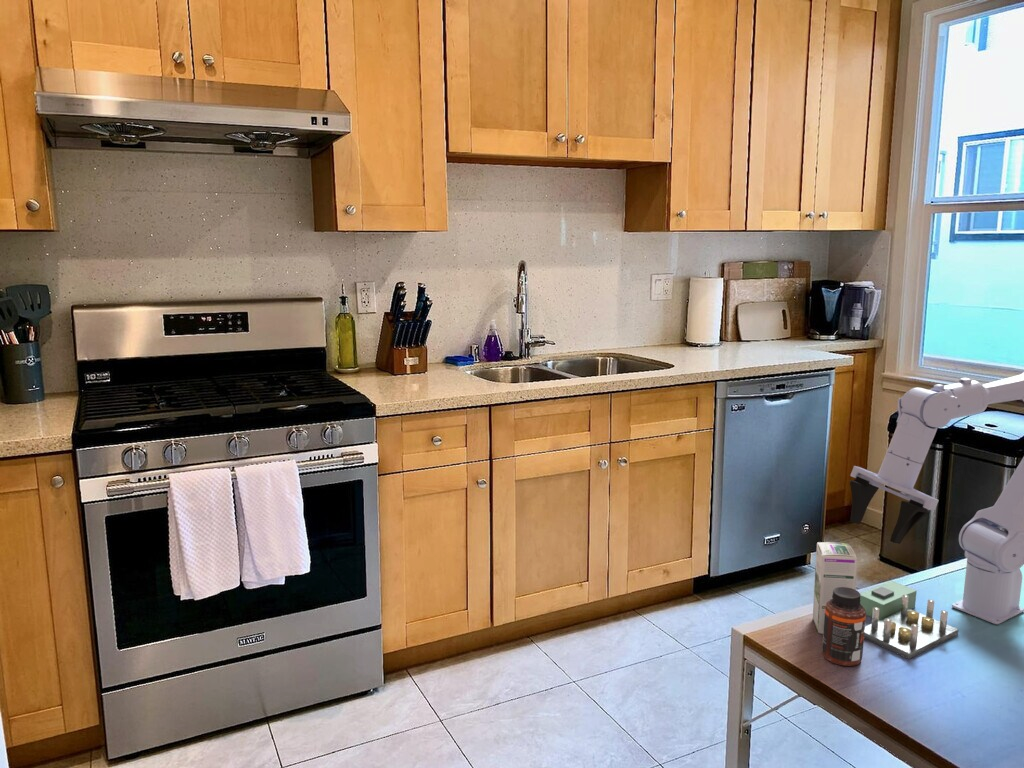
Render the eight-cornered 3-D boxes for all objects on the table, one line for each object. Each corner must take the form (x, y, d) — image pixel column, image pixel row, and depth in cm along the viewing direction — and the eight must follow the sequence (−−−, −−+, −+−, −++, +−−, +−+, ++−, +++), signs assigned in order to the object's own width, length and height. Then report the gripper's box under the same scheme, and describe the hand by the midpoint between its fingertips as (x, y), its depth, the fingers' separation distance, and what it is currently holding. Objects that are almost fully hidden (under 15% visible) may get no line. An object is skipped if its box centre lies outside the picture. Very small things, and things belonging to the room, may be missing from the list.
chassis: (906, 613, 138) (909, 589, 137) (957, 634, 130) (960, 610, 129) (858, 634, 131) (859, 610, 130) (908, 659, 123) (911, 633, 122)
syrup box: (853, 637, 130) (860, 556, 127) (816, 634, 131) (822, 553, 128) (846, 621, 135) (852, 542, 132) (810, 618, 136) (815, 540, 134)
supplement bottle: (867, 668, 120) (873, 601, 118) (828, 667, 121) (833, 600, 119) (854, 648, 126) (859, 584, 124) (817, 647, 127) (821, 583, 125)
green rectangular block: (890, 598, 144) (891, 577, 143) (914, 608, 140) (916, 587, 139) (857, 612, 139) (858, 591, 138) (881, 623, 135) (883, 601, 134)
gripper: (853, 439, 133) (824, 512, 135) (934, 470, 121) (901, 550, 123) (875, 445, 137) (847, 516, 139) (955, 476, 125) (923, 553, 127)
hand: (874, 532), depth 131 cm, fingers open, 7 cm apart
